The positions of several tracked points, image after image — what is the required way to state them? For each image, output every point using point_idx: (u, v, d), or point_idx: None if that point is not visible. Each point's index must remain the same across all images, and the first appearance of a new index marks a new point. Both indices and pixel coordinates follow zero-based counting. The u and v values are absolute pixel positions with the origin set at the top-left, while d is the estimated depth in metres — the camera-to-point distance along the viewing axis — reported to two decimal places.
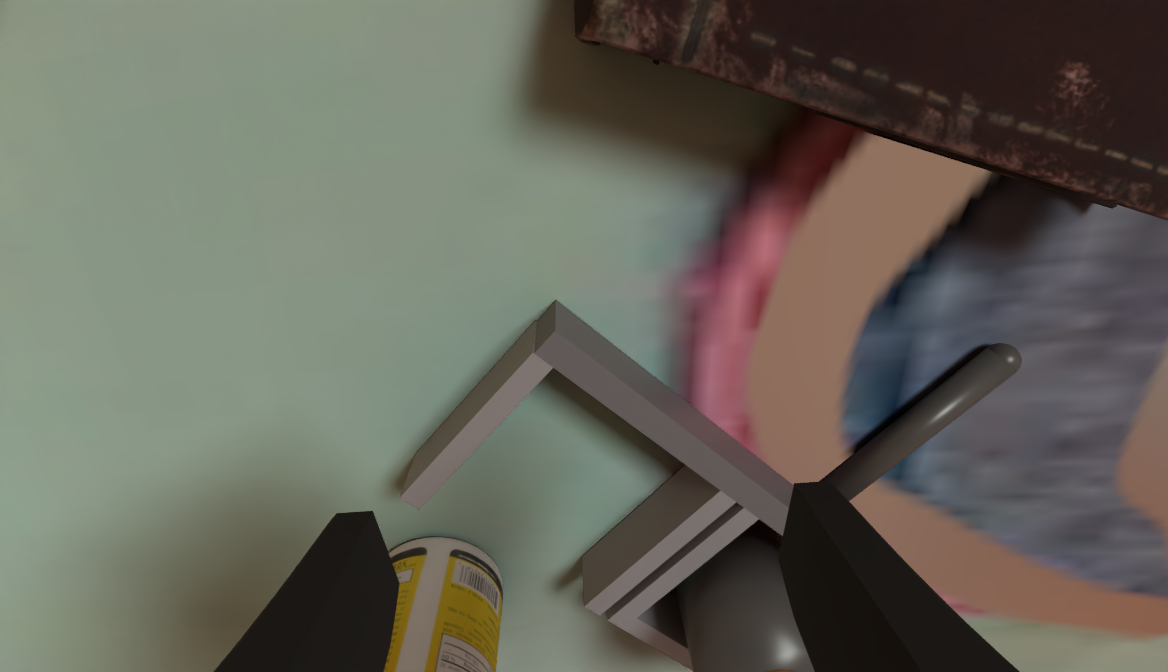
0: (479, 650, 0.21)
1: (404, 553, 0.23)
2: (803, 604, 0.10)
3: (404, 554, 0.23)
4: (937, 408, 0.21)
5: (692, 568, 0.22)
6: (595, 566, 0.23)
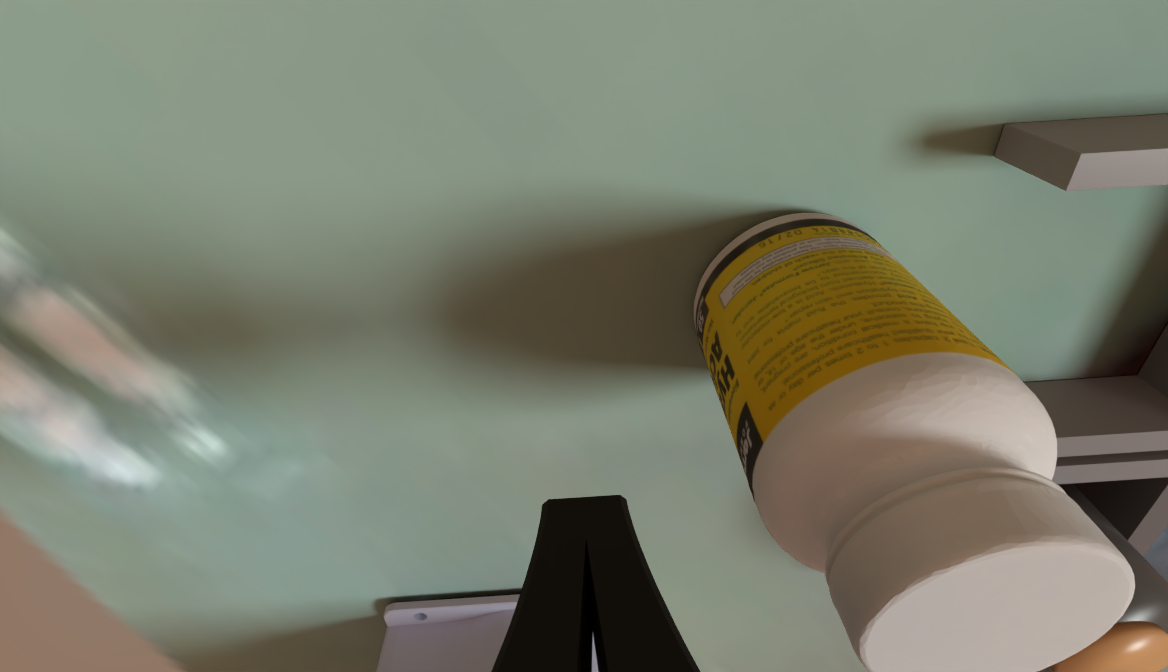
0: None
1: (858, 229, 0.15)
2: (592, 618, 0.10)
3: (859, 230, 0.15)
4: None
5: (1073, 479, 0.18)
6: None
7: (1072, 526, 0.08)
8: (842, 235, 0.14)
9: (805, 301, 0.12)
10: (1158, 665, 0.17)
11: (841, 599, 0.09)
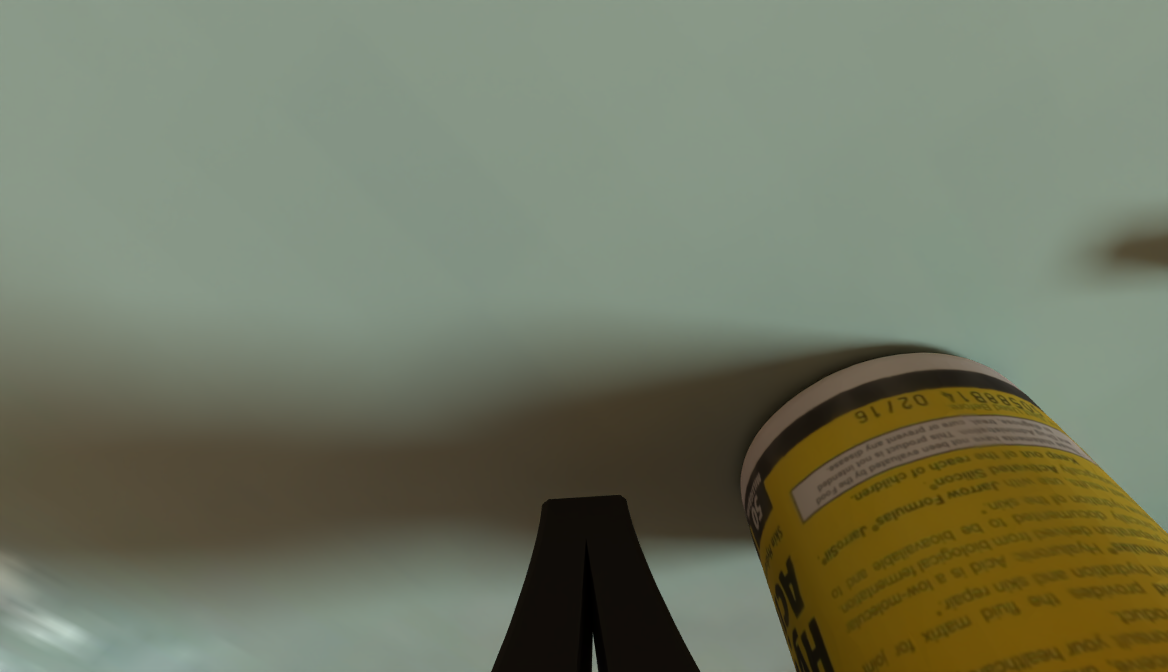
0: None
1: (1008, 386, 0.09)
2: (591, 617, 0.10)
3: (1009, 387, 0.09)
4: None
5: None
6: None
7: None
8: (996, 411, 0.09)
9: (972, 577, 0.07)
10: None
11: None
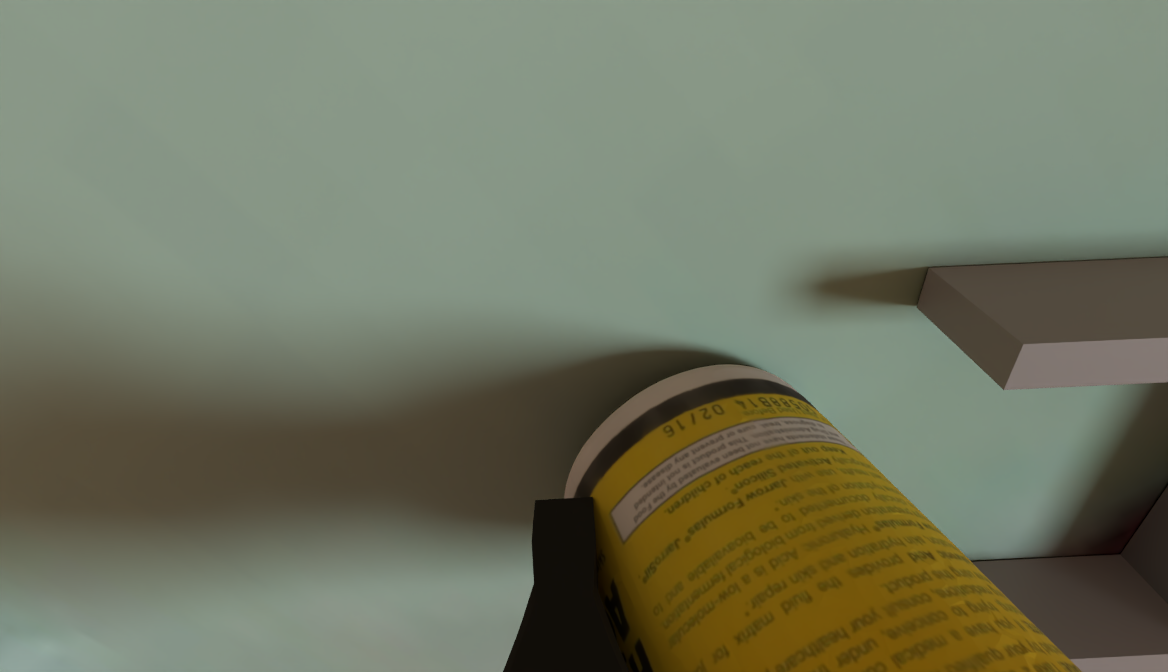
0: None
1: (787, 389, 0.10)
2: None
3: (788, 390, 0.10)
4: None
5: None
6: None
7: None
8: (780, 413, 0.09)
9: (772, 574, 0.07)
10: None
11: None
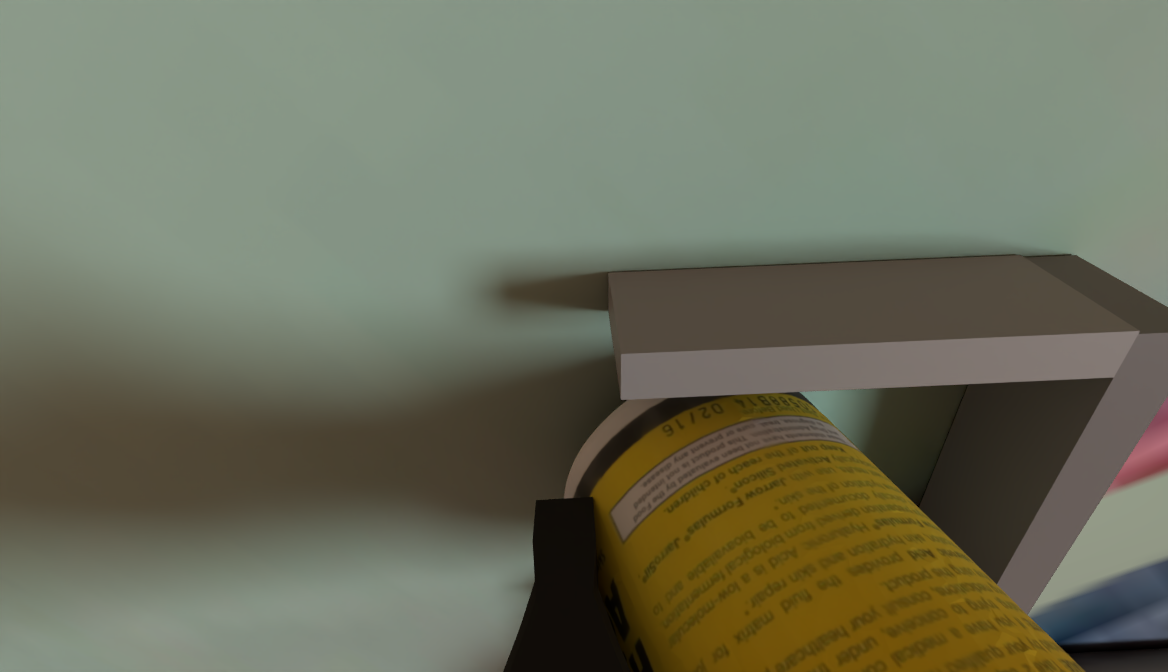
0: None
1: None
2: None
3: None
4: None
5: None
6: None
7: None
8: (779, 411, 0.09)
9: (773, 572, 0.07)
10: None
11: None
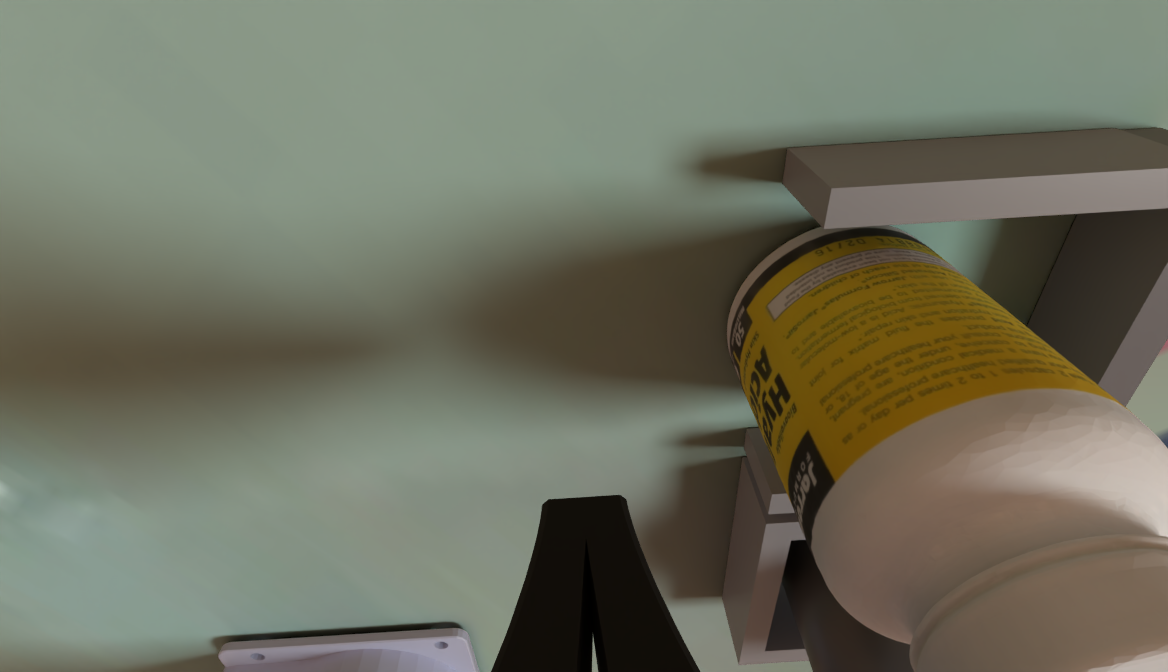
0: None
1: (923, 244, 0.13)
2: (591, 617, 0.10)
3: (924, 245, 0.13)
4: None
5: None
6: None
7: None
8: (911, 248, 0.12)
9: (883, 319, 0.10)
10: None
11: None
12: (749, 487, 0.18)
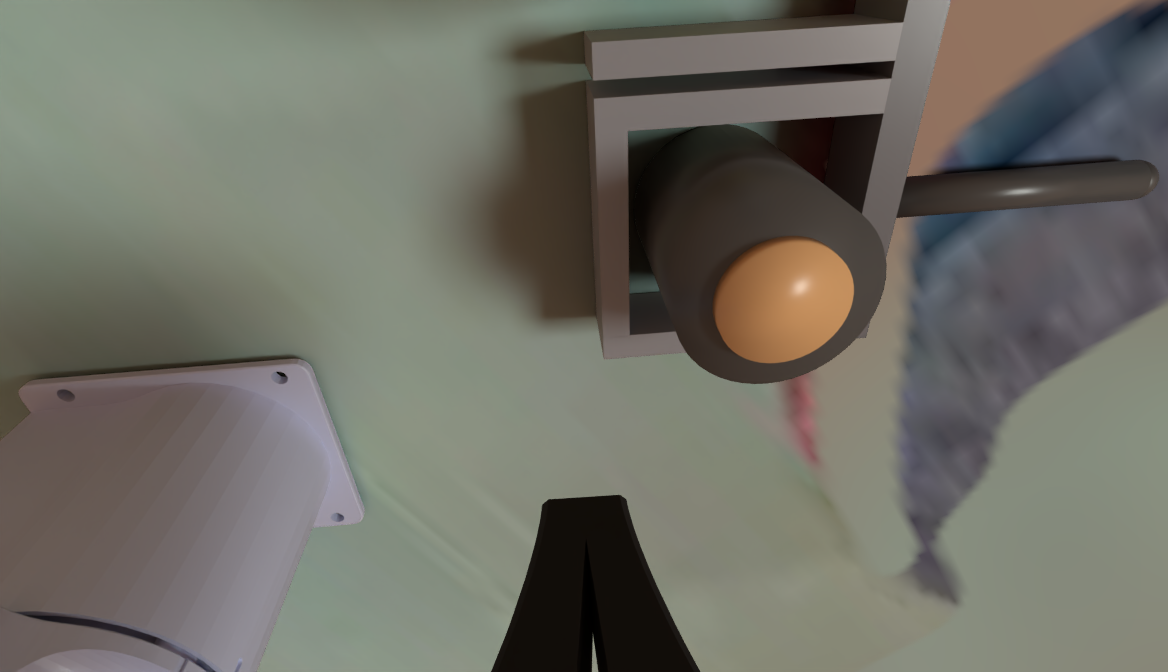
0: None
1: None
2: (592, 617, 0.10)
3: None
4: (1065, 175, 0.17)
5: (758, 115, 0.14)
6: (619, 33, 0.14)
7: None
8: None
9: None
10: (840, 310, 0.13)
11: None
12: (589, 100, 0.15)
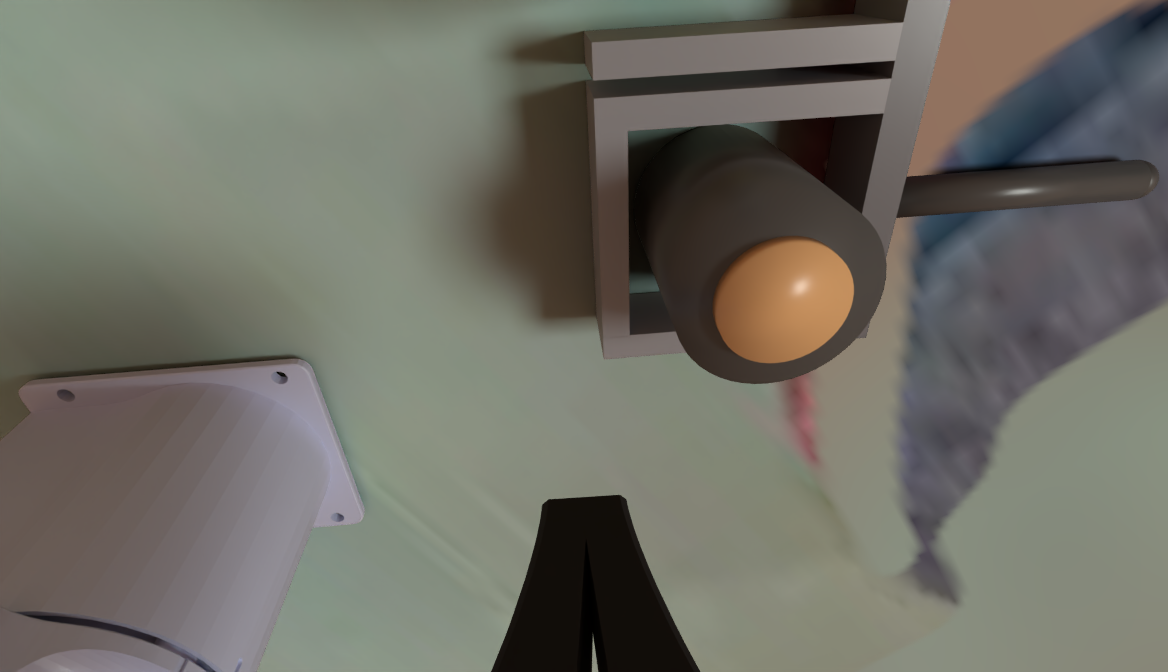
0: None
1: None
2: (592, 617, 0.10)
3: None
4: (1065, 175, 0.17)
5: (758, 115, 0.14)
6: (619, 33, 0.14)
7: None
8: None
9: None
10: (840, 310, 0.13)
11: None
12: (589, 100, 0.15)
